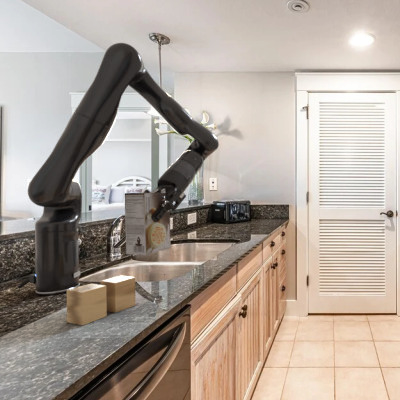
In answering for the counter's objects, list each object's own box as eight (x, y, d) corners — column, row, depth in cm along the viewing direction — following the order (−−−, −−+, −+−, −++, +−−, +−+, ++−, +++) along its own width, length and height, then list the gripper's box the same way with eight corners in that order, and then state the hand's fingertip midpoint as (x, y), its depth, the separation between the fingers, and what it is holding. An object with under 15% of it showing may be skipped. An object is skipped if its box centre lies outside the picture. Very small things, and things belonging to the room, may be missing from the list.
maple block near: (66, 322, 62) (66, 290, 62) (91, 313, 67) (91, 283, 67) (82, 325, 61) (82, 292, 61) (106, 316, 65) (106, 285, 65)
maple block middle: (100, 310, 69) (100, 280, 69) (121, 302, 74) (120, 275, 74) (115, 312, 67) (115, 282, 67) (135, 305, 72) (135, 277, 72)
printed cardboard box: (152, 247, 84) (151, 192, 84) (171, 248, 83) (170, 192, 82) (124, 254, 75) (123, 192, 75) (146, 255, 74) (145, 192, 73)
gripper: (152, 169, 88) (114, 210, 77) (189, 167, 83) (155, 210, 72) (166, 187, 93) (133, 227, 82) (203, 186, 88) (172, 229, 77)
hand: (143, 219), depth 77 cm, fingers closed on printed cardboard box, 7 cm apart
